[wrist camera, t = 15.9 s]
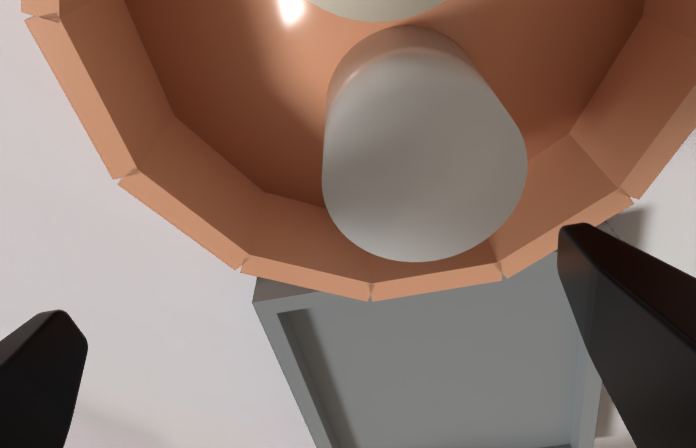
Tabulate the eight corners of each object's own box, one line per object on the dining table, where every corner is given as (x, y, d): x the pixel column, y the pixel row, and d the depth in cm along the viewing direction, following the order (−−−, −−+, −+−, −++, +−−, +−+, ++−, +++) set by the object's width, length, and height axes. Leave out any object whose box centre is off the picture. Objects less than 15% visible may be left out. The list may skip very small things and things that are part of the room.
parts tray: (579, 440, 26) (590, 466, 25) (339, 470, 27) (339, 497, 26) (602, 216, 18) (621, 240, 17) (257, 276, 19) (252, 302, 18)
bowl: (631, 174, 17) (702, 248, 13) (222, 248, 18) (197, 330, 15) (730, -546, 8) (973, -806, 5) (-27, -301, 10) (-203, -384, 7)
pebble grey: (483, 157, 15) (528, 244, 12) (344, 184, 16) (345, 275, 12) (474, 8, 13) (527, 61, 9) (309, 45, 13) (298, 109, 10)
